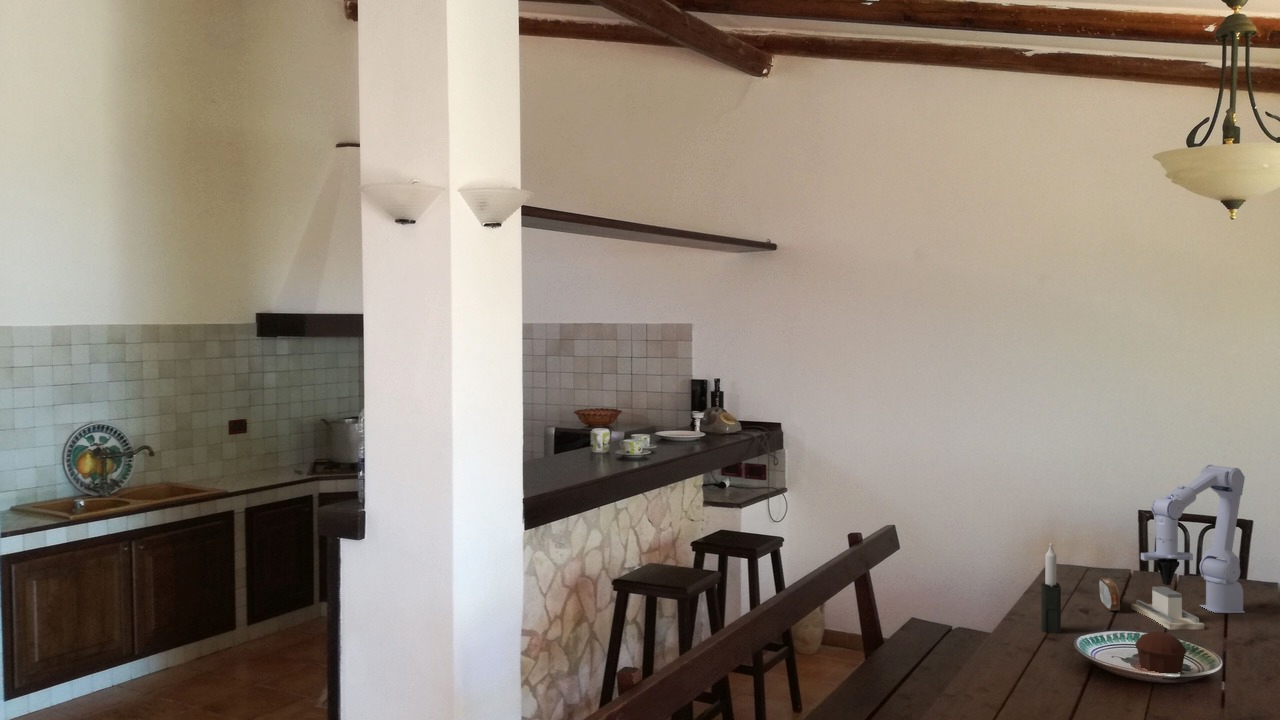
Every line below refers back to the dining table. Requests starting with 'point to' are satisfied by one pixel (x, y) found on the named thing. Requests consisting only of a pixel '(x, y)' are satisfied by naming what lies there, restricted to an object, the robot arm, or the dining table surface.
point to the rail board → (1168, 617)
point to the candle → (1050, 596)
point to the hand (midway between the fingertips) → (1166, 584)
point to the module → (1167, 601)
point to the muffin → (1160, 652)
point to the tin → (1109, 594)
